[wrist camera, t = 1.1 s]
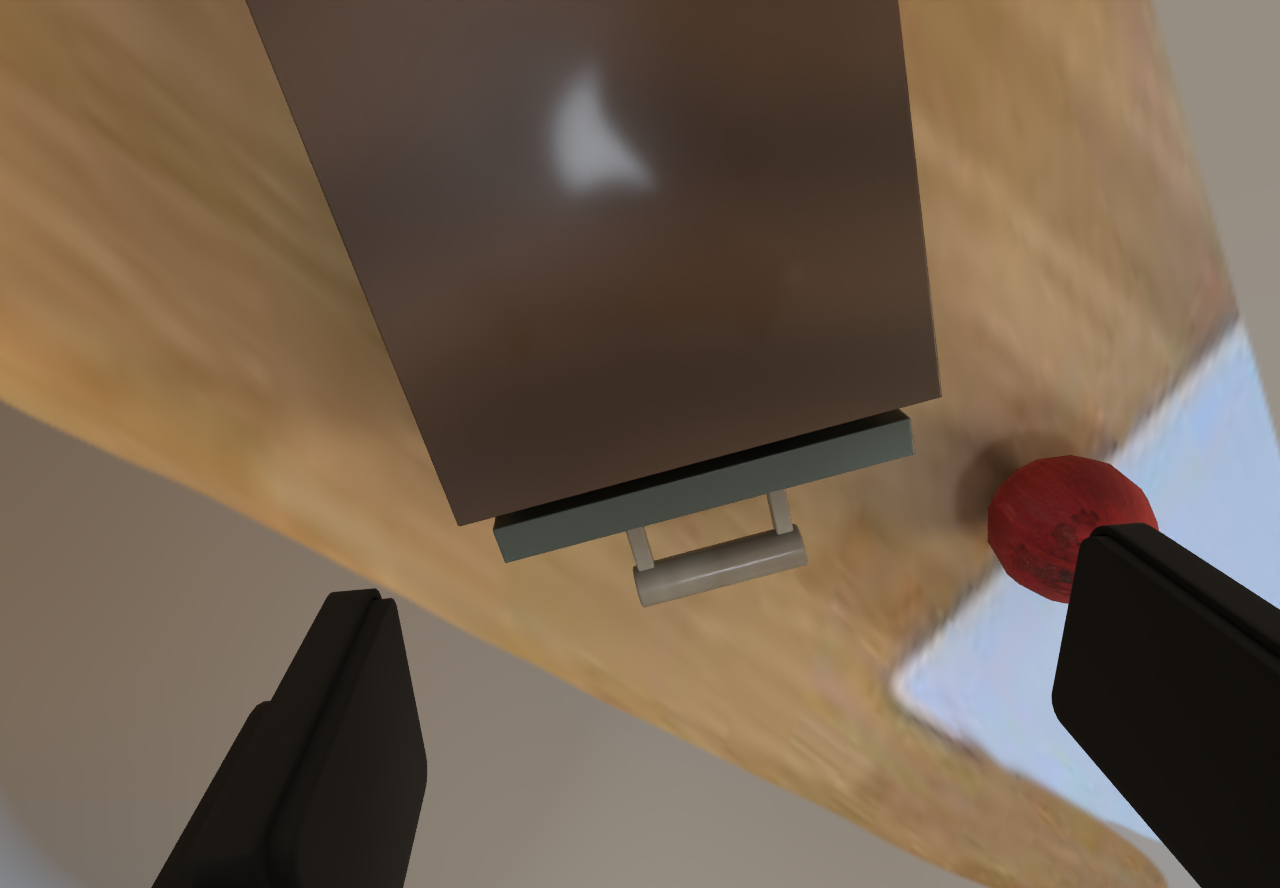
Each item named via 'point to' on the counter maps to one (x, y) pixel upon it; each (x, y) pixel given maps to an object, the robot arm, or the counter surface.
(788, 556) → the drawer
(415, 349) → the cabinet
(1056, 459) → the onion
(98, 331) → the counter surface
